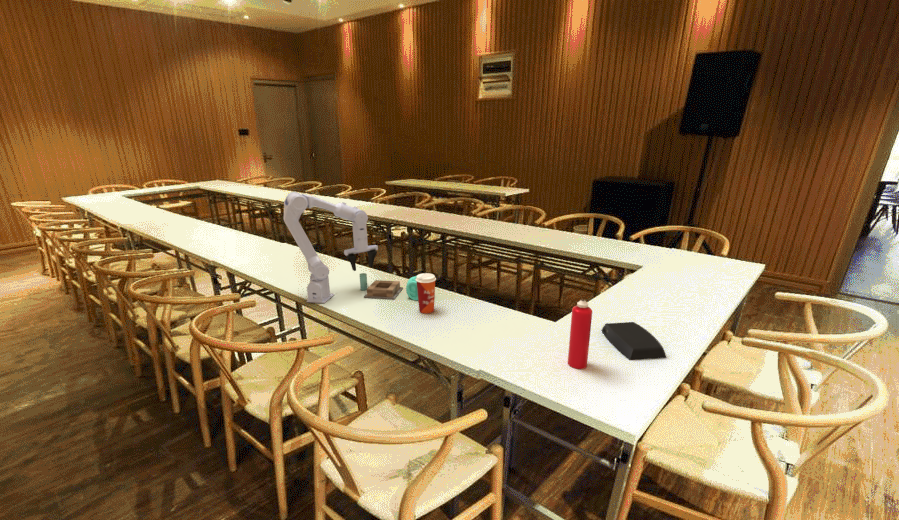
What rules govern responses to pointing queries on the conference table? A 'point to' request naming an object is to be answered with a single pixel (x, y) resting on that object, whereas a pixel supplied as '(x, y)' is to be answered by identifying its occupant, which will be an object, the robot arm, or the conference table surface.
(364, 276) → the peg
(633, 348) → the external hard drive
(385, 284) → the socket
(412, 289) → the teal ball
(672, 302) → the conference table surface
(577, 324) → the bottle
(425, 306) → the paper cup
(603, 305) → the conference table surface
